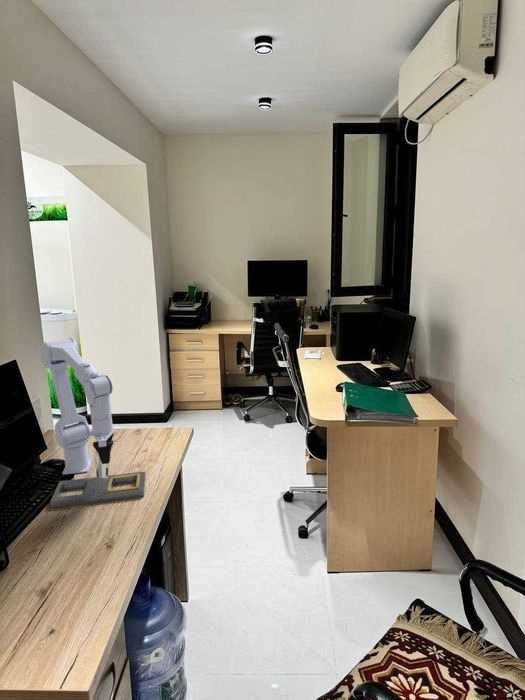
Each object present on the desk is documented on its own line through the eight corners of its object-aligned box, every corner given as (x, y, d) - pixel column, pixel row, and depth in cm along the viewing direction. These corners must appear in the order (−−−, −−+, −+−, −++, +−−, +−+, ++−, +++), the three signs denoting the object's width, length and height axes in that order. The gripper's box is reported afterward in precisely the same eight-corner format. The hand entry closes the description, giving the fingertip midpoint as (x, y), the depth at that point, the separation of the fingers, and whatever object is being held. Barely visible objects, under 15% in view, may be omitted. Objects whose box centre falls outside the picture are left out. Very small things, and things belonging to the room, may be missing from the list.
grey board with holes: (60, 487, 144) (59, 480, 144) (145, 477, 149) (145, 470, 149) (51, 508, 133) (50, 500, 132) (144, 496, 138) (143, 489, 137)
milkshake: (109, 481, 137) (109, 450, 135) (92, 480, 138) (91, 448, 136) (115, 475, 142) (115, 444, 140) (98, 473, 142) (98, 442, 140)
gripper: (88, 410, 142) (93, 451, 145) (84, 427, 128) (90, 472, 131) (112, 407, 143) (117, 448, 147) (111, 424, 130) (116, 468, 133)
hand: (106, 459), depth 139 cm, fingers closed on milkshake, 4 cm apart
